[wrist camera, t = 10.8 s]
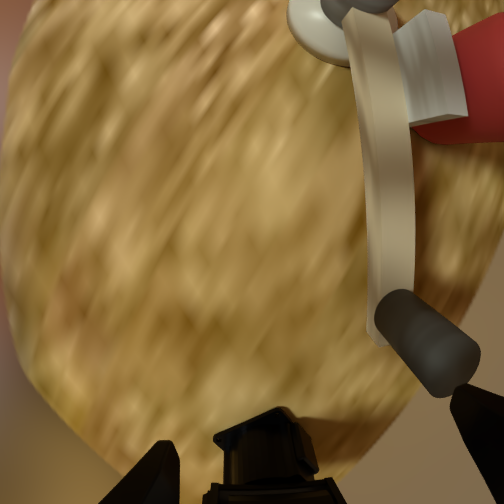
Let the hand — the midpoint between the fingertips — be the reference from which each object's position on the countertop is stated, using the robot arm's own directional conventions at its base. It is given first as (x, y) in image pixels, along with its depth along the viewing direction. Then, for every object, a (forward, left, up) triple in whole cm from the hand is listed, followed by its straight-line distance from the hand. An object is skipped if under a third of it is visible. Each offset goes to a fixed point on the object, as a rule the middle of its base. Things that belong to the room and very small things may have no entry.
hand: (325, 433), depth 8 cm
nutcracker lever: (+9, +5, -11) cm, 15 cm away
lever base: (+13, +13, -13) cm, 22 cm away
